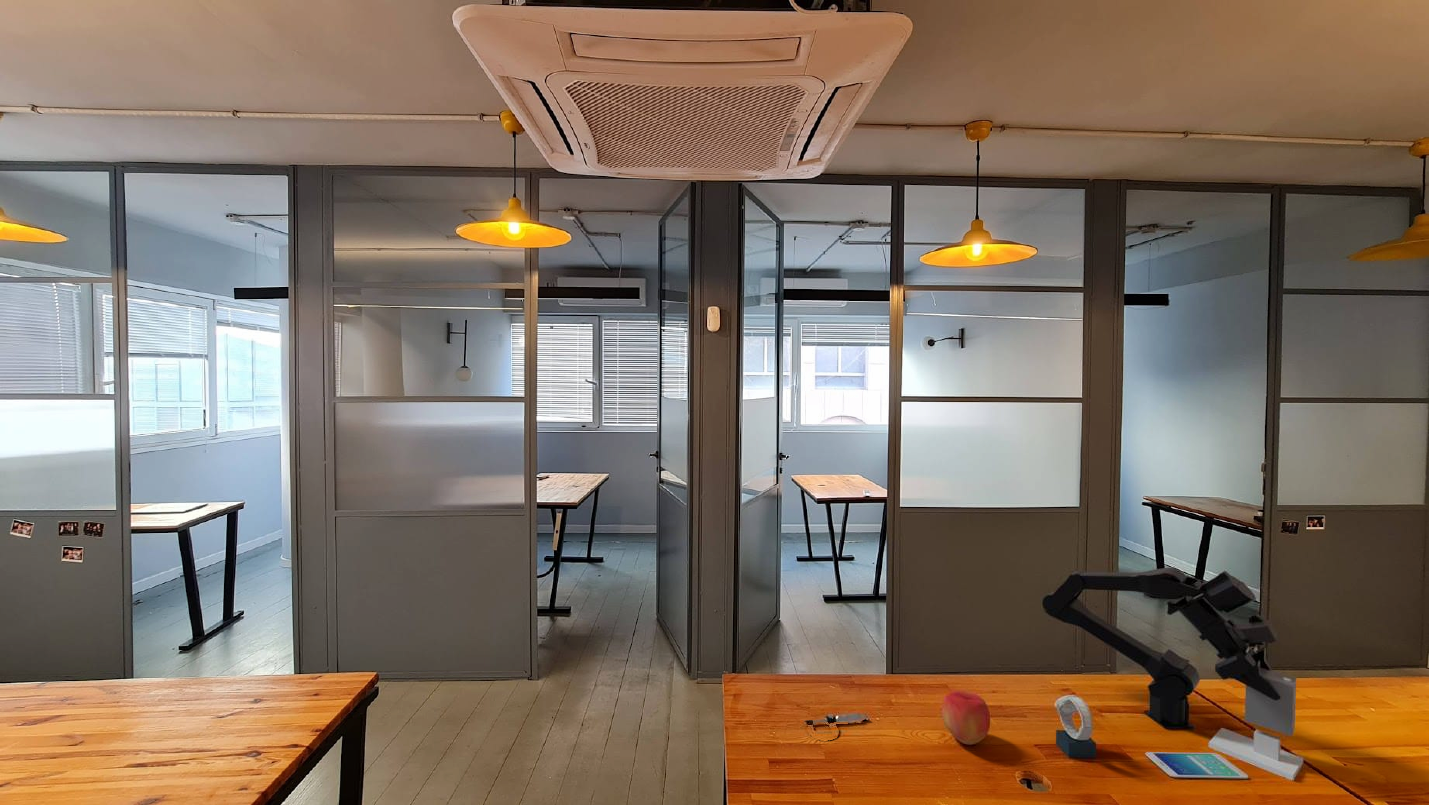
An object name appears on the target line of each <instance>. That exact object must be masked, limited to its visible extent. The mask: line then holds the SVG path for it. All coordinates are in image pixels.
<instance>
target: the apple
mask: <svg viewBox="0 0 1429 805" xmlns="http://www.w3.org/2000/svg"><path fill="white" fill-rule="evenodd" d="M941 703H942V704H941V717H942V721H943V724H944V726H945V727H946V729H947V731H948V732H949V733H950V734H951V735H952V736H953V737H954V738H955V739H956V740H958V741H959V742H960V743H962V744H965V745H970V746H971V745H972V746H973V745H974V744H977V743H979V742H980V741H983V739H985V738H986V736H987V735H988V734H989V733H988V732H989V731H990V726H991V713H990V710H989V707H988V704H987V703H986V701H985V700H984V699H983V698H982V697H981V696H980V695H978V694H976V693H974V692H973V693H972V692H969V691H965V690H960V689H959V690H953V691H950V692H948V693H947V694H946V695H945V696H944V698H943V700H942V702H941Z"/></svg>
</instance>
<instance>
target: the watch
mask: <svg viewBox="0 0 1429 805" xmlns="http://www.w3.org/2000/svg"><path fill="white" fill-rule="evenodd" d="M1054 706H1055V707H1056V710H1057V714H1058V716H1059V717H1060V721H1061V724H1062V727H1063V728H1064V729H1056V730H1055V746H1057V747H1058V749H1060V751H1061V752H1062V753H1063V754H1064V755H1065V756H1066V757H1067V758H1069V759H1096V757H1097V742H1096V741H1095V740H1093V738H1092V734H1093V731H1094V725H1093V724H1094V722H1093V717H1092V714H1091V710H1090V708H1089V706H1088V705H1087V702H1085V700H1084V699H1083V698H1081V697H1078V696H1077V695H1075V694H1074V695H1073V694H1069V695H1063V696H1061V697H1059V698H1058V699H1057V700H1056V701H1055V702H1054ZM1076 712H1078V714H1079V715H1080V720H1081V726H1080V727H1079V729H1077V728H1076V726H1075V724H1074V721H1073V717H1072V716H1074V715H1075V714H1076Z"/></svg>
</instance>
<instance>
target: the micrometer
mask: <svg viewBox="0 0 1429 805" xmlns="http://www.w3.org/2000/svg"><path fill="white" fill-rule="evenodd" d="M832 718H833V719H832ZM862 719H869V715H868V714H867V713H866V714H861V712H856V713H845V714H844V713H843V714H837V715H834V714H833V713H828V714H827V715H825V716H824V719H815V720H813V719H808V720H805V721H804V723H805V722H806V723H807V725H813V722H814V723H815V722H828V723H829V724H830V723H834V722H854V721H862ZM869 720H870V719H869ZM862 722H863V721H862ZM807 727H808V726H807ZM814 729H815V730H816V727H815V728H814Z"/></svg>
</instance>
